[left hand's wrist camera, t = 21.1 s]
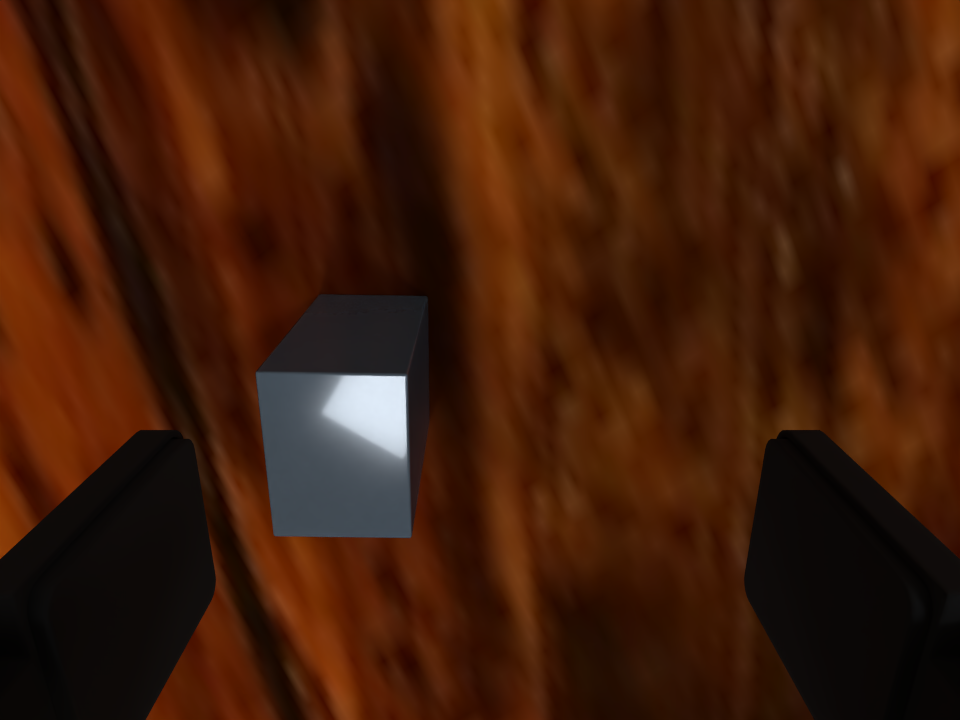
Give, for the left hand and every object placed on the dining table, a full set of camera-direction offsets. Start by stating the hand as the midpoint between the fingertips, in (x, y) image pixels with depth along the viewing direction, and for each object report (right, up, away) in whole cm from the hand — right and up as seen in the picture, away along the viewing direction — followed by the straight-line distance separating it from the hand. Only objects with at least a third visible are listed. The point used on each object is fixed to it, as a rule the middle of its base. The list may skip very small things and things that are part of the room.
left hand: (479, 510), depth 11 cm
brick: (-5, +2, +21) cm, 21 cm away
